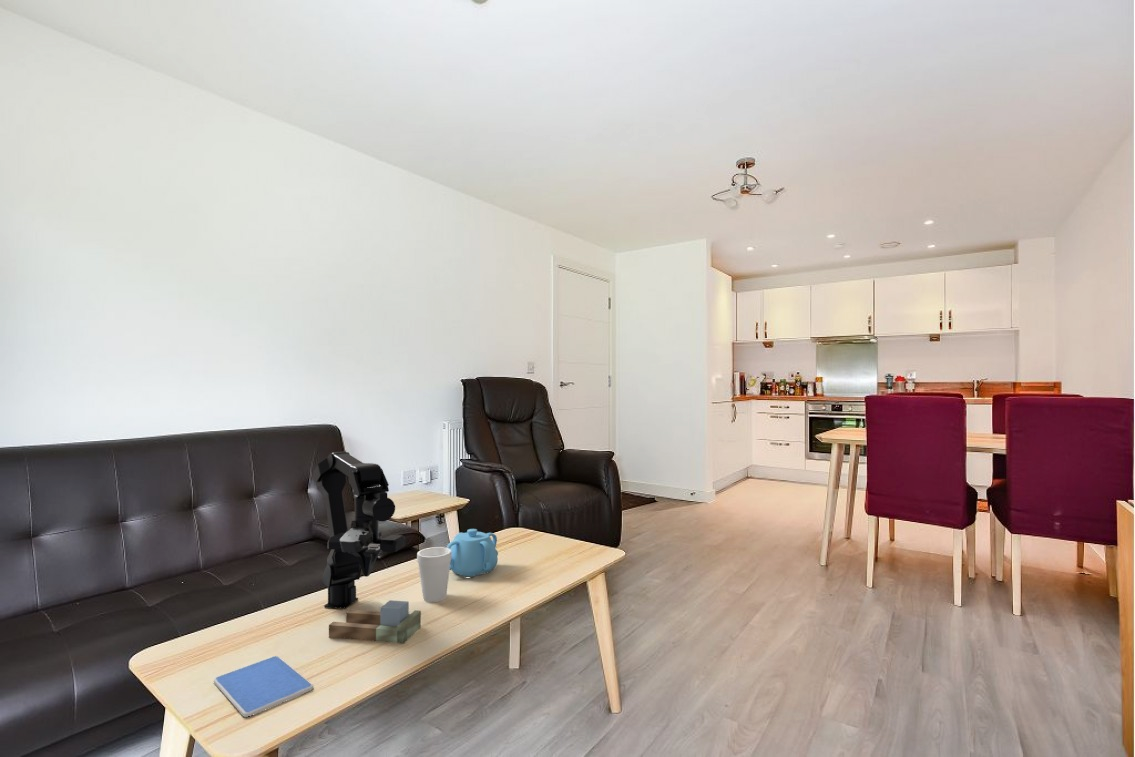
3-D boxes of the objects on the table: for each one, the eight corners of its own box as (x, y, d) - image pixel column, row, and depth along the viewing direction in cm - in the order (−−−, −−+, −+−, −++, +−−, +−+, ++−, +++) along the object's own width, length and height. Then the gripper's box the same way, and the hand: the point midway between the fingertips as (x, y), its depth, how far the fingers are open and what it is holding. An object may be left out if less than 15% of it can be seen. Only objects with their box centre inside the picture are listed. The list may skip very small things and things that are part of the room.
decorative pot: (438, 579, 164) (438, 535, 164) (457, 562, 180) (457, 522, 180) (488, 582, 161) (488, 537, 161) (503, 564, 177) (503, 524, 177)
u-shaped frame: (328, 637, 126) (328, 620, 126) (350, 621, 135) (350, 605, 135) (403, 643, 123) (403, 626, 123) (420, 626, 131) (420, 610, 131)
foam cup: (415, 594, 152) (415, 549, 152) (447, 589, 155) (447, 545, 156) (420, 607, 143) (419, 559, 143) (454, 601, 147) (453, 554, 147)
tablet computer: (211, 683, 108) (211, 677, 108) (277, 659, 117) (277, 653, 117) (244, 722, 95) (244, 714, 95) (315, 691, 105) (315, 684, 105)
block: (380, 637, 126) (380, 607, 126) (390, 628, 130) (389, 600, 130) (399, 638, 125) (399, 609, 125) (408, 630, 129) (408, 601, 130)
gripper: (313, 521, 128) (313, 585, 127) (383, 523, 124) (384, 590, 124) (340, 510, 139) (341, 570, 138) (406, 512, 135) (406, 573, 135)
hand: (367, 576), depth 134 cm, fingers closed
